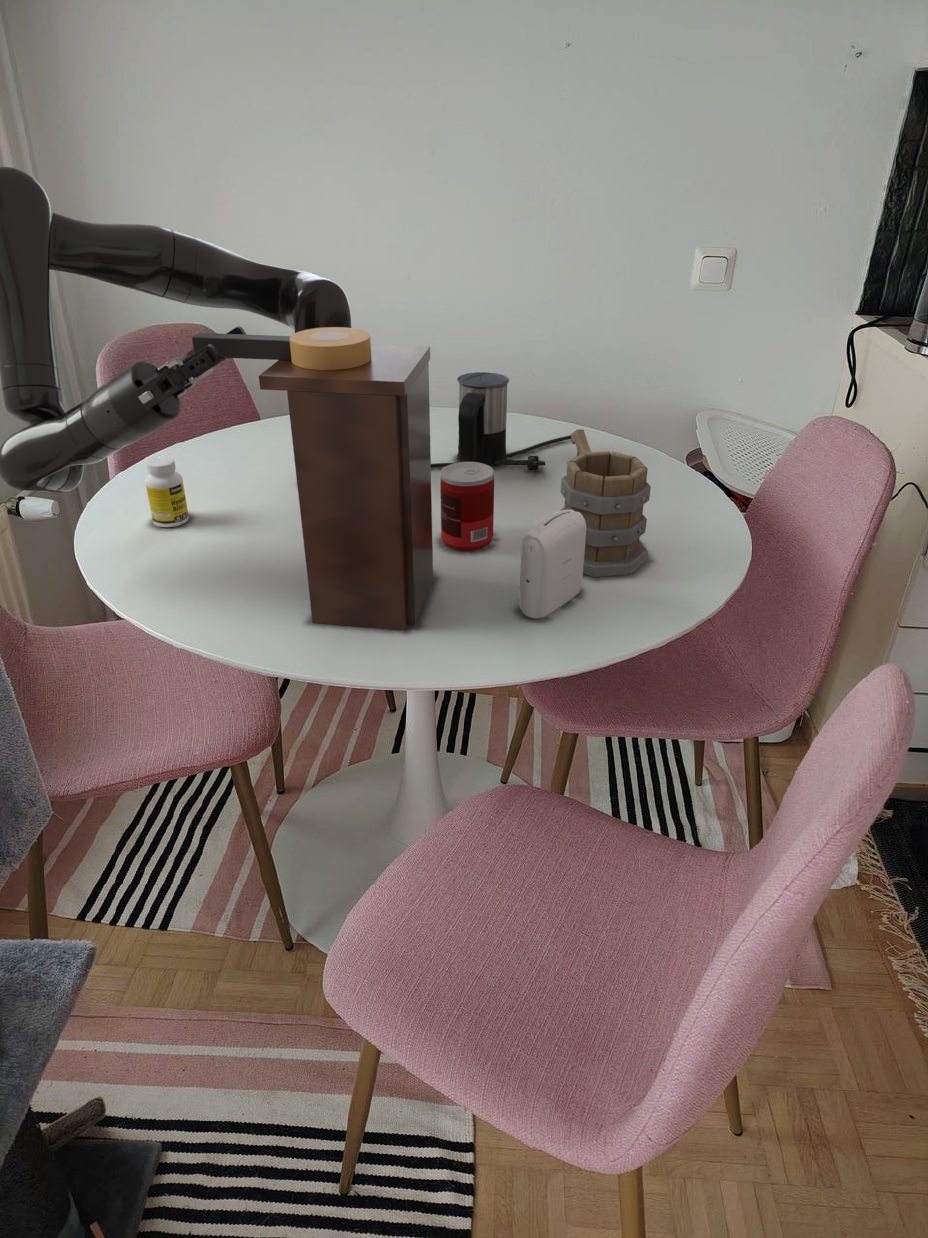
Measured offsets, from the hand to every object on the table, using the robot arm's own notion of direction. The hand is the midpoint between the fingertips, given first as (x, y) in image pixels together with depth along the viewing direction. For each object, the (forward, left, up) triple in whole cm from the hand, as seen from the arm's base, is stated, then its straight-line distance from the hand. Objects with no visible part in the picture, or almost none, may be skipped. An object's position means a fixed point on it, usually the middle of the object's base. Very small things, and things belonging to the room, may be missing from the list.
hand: (231, 342), depth 98 cm
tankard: (-45, +17, -33) cm, 58 cm away
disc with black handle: (-4, +4, -1) cm, 6 cm away
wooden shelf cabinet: (-10, +10, -32) cm, 35 cm away
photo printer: (-29, +26, -33) cm, 50 cm away
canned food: (-31, +5, -33) cm, 45 cm away
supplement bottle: (+2, -28, -33) cm, 43 cm away
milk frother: (-54, -16, -33) cm, 65 cm away
